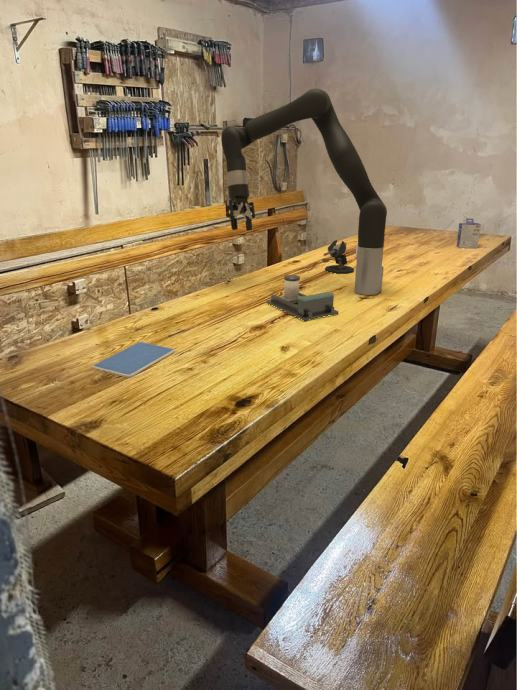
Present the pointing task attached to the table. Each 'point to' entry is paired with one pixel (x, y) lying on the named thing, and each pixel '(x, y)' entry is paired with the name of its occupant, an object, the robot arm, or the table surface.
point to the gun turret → (338, 259)
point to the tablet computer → (133, 359)
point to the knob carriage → (291, 288)
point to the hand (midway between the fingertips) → (242, 230)
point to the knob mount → (307, 305)
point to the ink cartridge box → (468, 234)
